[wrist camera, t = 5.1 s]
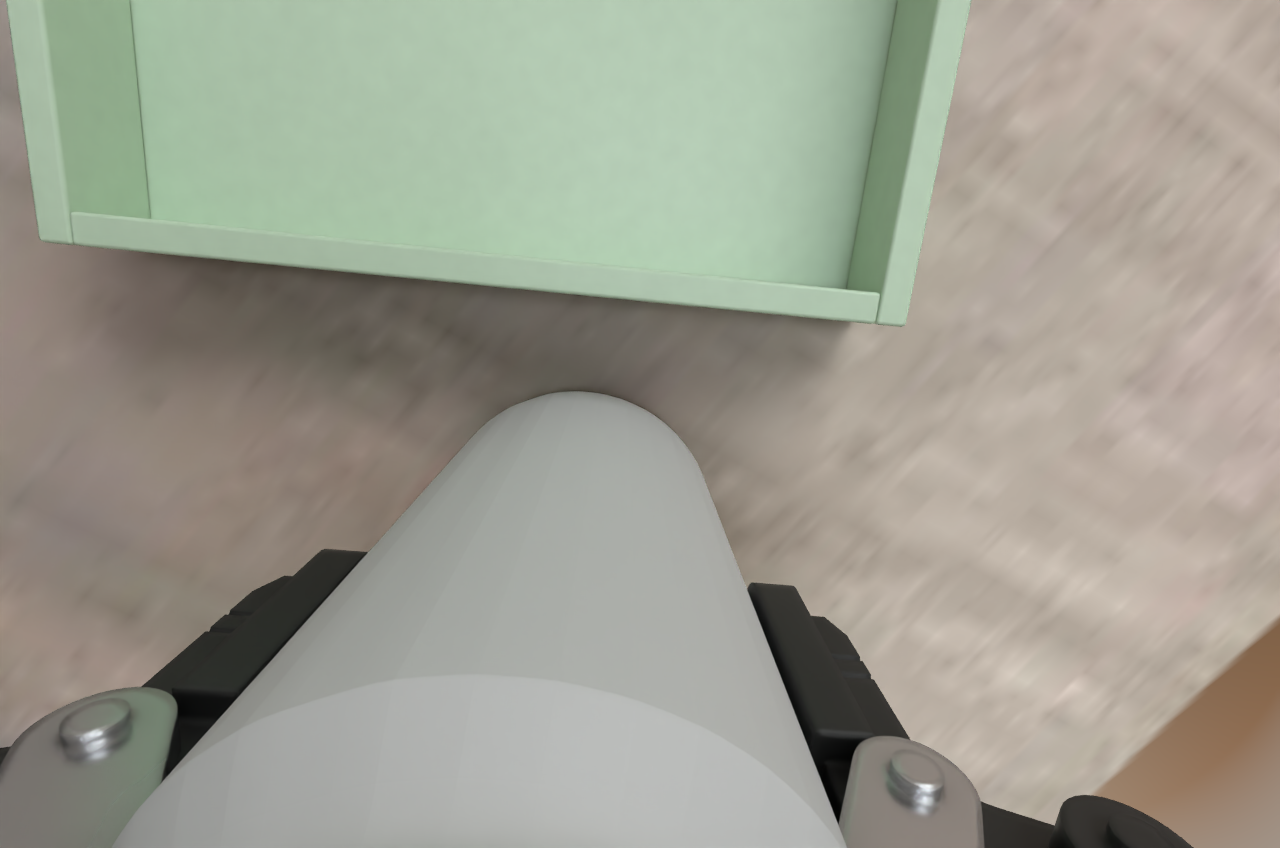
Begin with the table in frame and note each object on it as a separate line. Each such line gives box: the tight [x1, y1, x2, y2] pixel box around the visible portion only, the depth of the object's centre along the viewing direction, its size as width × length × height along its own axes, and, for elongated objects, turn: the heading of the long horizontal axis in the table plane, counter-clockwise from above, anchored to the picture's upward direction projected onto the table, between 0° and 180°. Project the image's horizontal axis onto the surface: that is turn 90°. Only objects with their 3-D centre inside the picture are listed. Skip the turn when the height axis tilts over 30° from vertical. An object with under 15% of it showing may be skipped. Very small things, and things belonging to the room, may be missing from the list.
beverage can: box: [111, 391, 847, 848], centre depth 9 cm, size 6×6×12 cm
